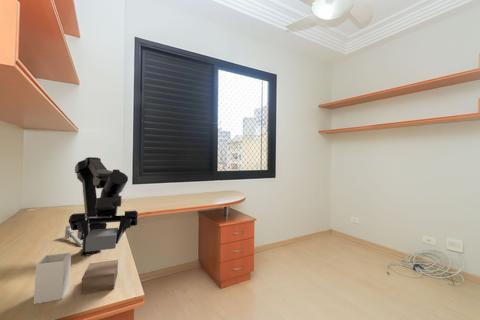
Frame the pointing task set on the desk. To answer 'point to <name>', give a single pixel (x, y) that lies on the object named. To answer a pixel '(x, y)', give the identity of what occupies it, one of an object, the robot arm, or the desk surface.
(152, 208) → the desk surface
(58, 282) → the white open box
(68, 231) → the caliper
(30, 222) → the desk surface
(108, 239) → the gray block
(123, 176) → the robot arm
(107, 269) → the walnut block
